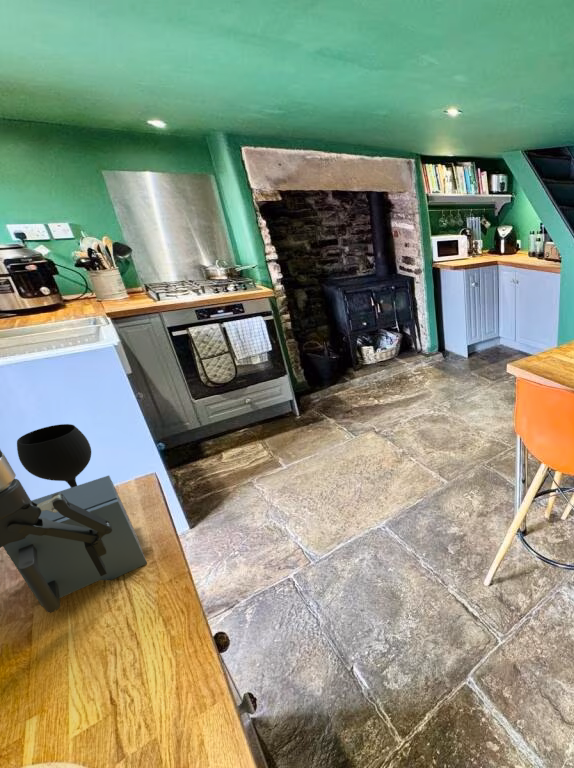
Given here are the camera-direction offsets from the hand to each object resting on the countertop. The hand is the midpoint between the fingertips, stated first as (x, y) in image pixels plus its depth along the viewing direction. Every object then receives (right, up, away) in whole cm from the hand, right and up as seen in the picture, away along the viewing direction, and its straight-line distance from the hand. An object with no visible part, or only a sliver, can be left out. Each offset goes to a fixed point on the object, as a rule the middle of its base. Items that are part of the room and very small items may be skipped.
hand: (46, 596), depth 65 cm
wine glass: (-25, +5, +30) cm, 39 cm away
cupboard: (-6, -2, +14) cm, 15 cm away
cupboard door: (0, -4, +9) cm, 9 cm away
